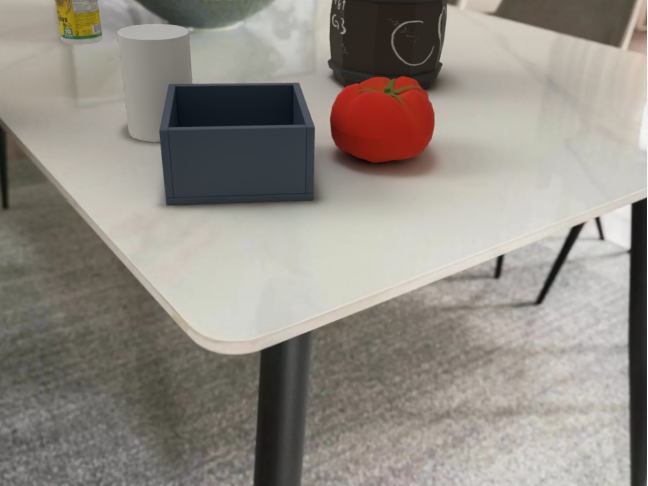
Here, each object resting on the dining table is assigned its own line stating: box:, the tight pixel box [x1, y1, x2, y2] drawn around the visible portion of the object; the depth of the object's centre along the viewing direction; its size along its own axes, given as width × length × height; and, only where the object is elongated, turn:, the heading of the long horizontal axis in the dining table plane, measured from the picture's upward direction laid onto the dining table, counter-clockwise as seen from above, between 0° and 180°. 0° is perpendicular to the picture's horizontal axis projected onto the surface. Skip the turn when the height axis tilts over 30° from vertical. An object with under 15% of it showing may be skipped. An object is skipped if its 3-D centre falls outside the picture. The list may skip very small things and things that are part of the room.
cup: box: [116, 23, 193, 143], centre depth 82 cm, size 8×8×12 cm
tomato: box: [329, 76, 436, 164], centre depth 78 cm, size 13×12×8 cm
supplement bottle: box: [54, 0, 103, 46], centre depth 90 cm, size 5×5×10 cm
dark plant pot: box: [327, 0, 448, 91], centre depth 103 cm, size 18×18×16 cm
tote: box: [159, 82, 316, 206], centre depth 72 cm, size 15×15×8 cm
